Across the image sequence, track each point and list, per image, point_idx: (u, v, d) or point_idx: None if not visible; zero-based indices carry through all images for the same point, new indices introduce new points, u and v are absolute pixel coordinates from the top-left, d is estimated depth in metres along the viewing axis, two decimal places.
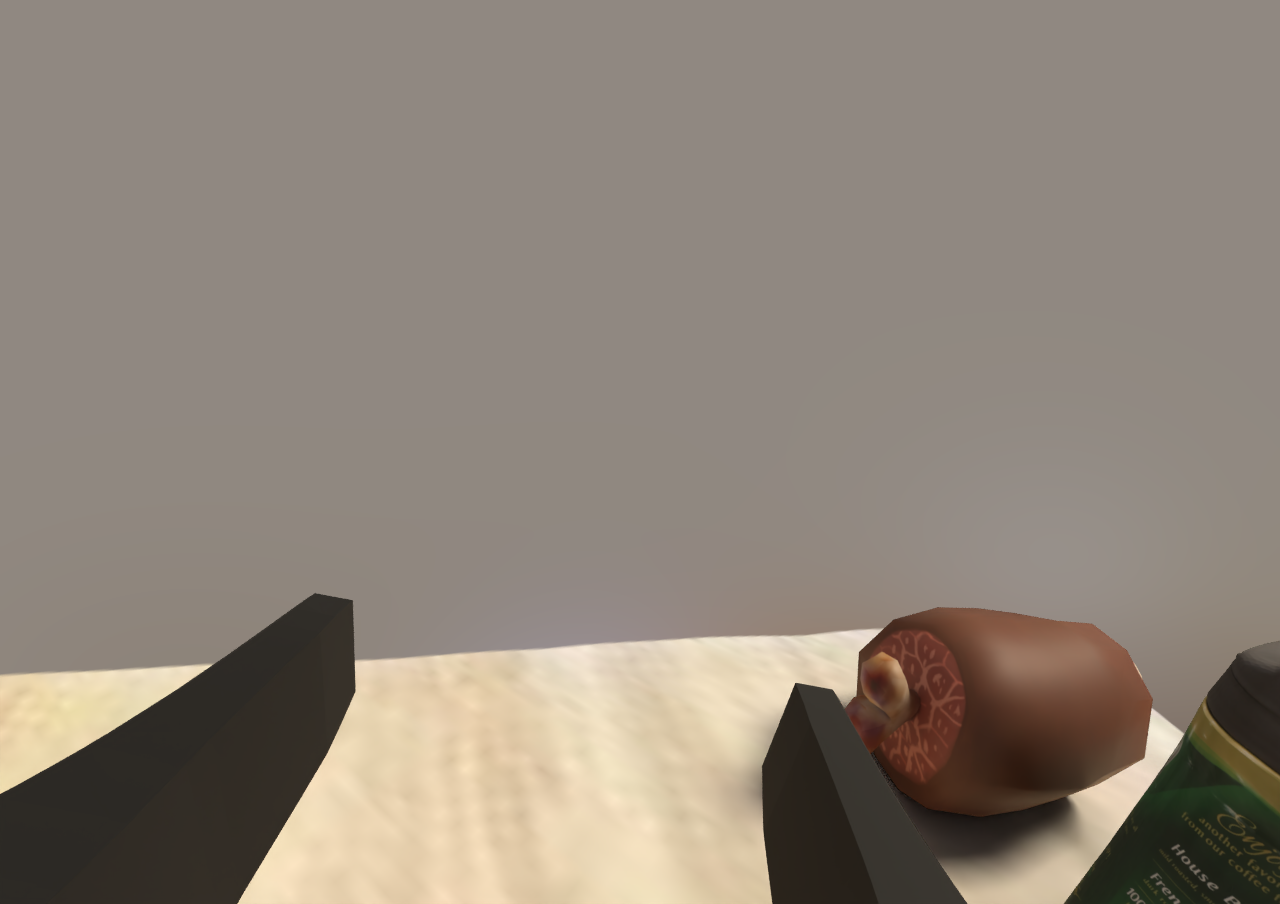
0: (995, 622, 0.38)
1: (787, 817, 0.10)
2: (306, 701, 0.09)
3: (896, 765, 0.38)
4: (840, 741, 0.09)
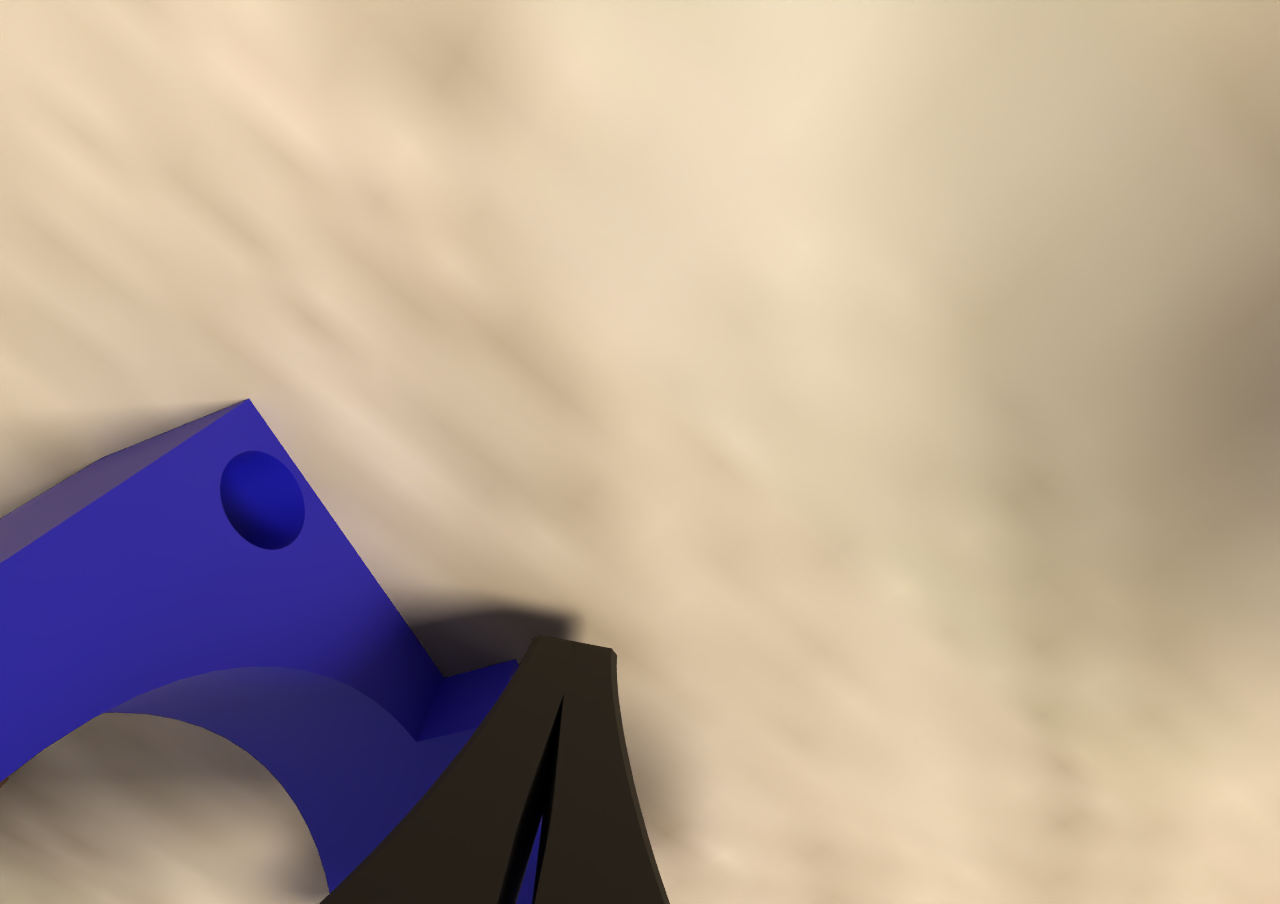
0: None
1: (550, 774, 0.10)
2: (554, 746, 0.10)
3: None
4: (588, 695, 0.09)
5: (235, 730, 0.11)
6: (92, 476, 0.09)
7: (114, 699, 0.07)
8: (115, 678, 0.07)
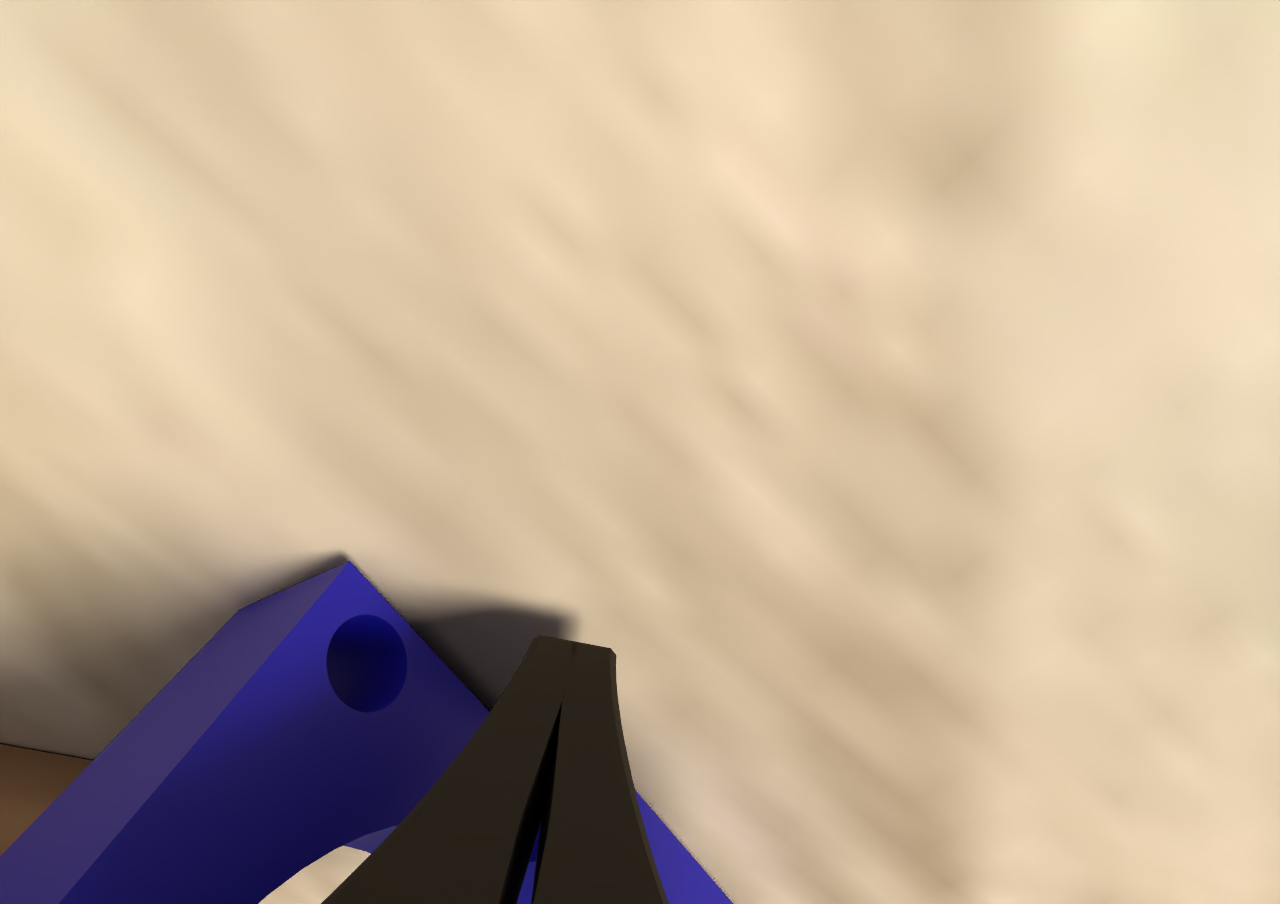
0: None
1: (548, 774, 0.10)
2: (554, 746, 0.10)
3: None
4: (587, 694, 0.09)
5: (372, 846, 0.12)
6: (224, 654, 0.10)
7: None
8: (245, 884, 0.08)
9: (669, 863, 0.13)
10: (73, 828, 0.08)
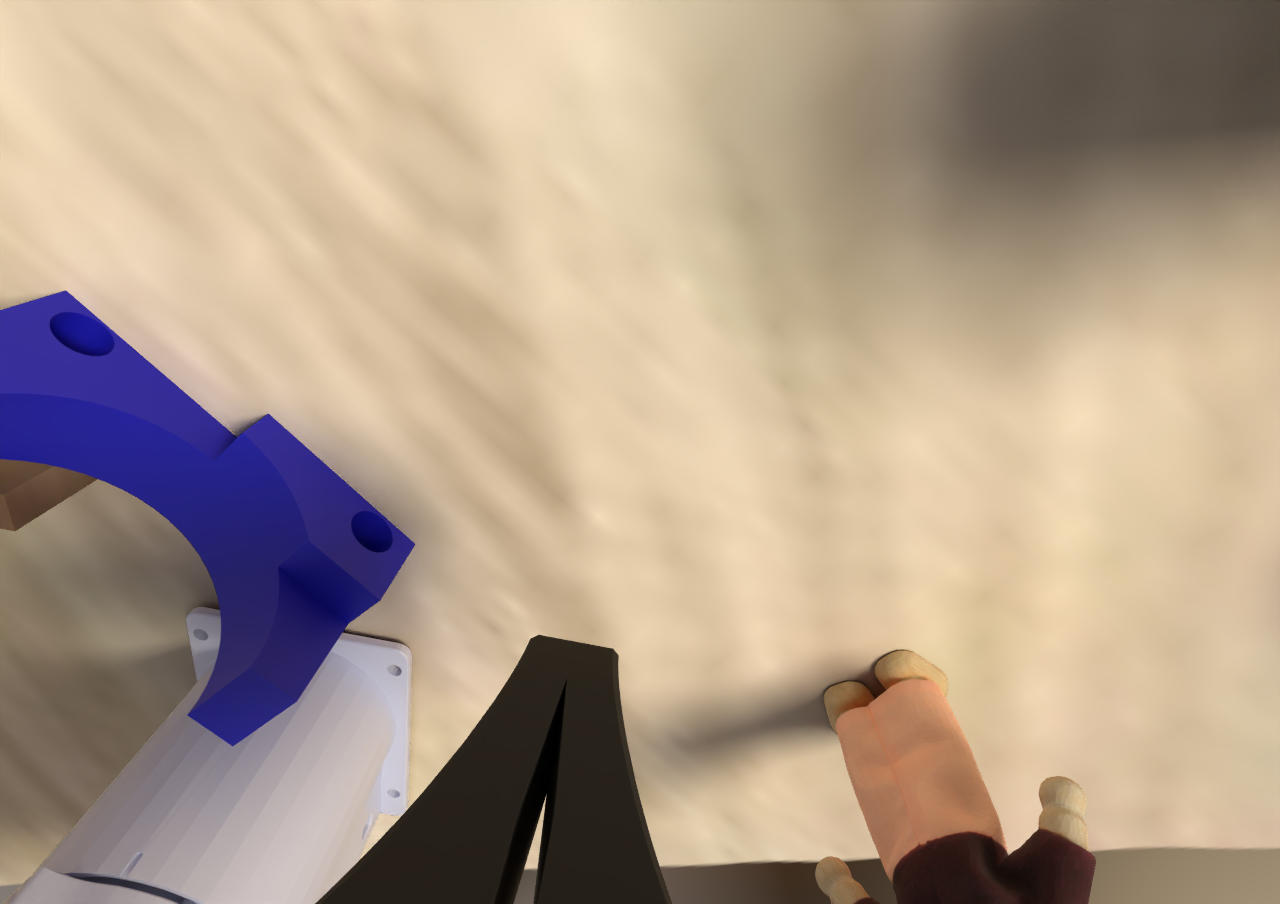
0: None
1: (551, 775, 0.10)
2: (551, 746, 0.10)
3: None
4: (590, 695, 0.09)
5: (122, 479, 0.20)
6: None
7: None
8: None
9: (316, 467, 0.21)
10: None
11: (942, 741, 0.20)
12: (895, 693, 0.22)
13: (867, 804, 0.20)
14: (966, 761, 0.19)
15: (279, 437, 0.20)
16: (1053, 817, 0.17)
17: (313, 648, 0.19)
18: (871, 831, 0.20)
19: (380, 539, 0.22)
